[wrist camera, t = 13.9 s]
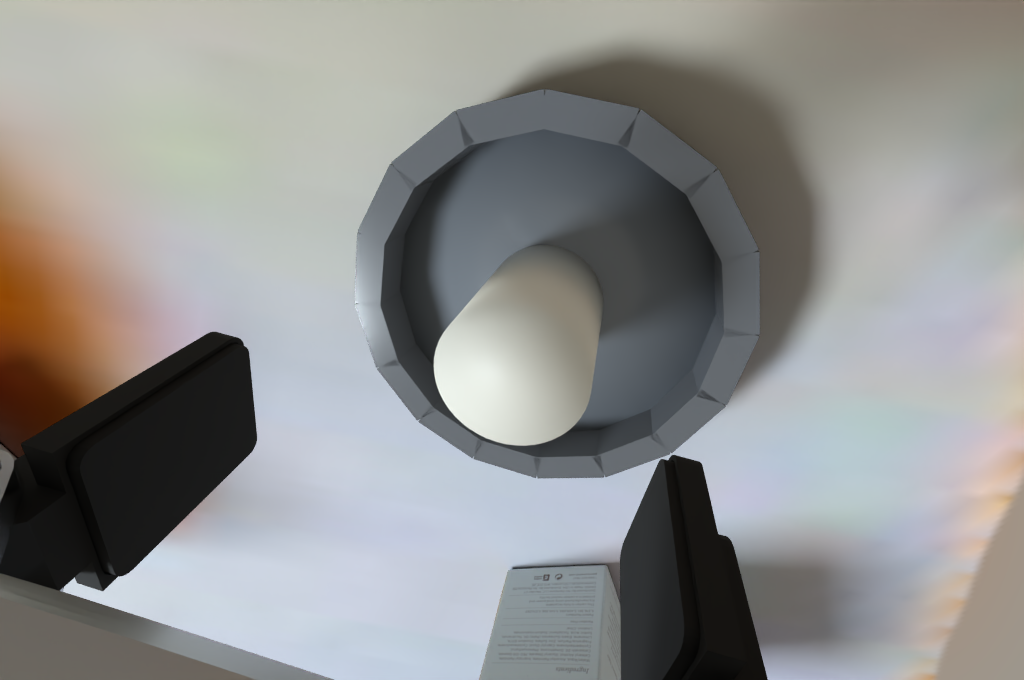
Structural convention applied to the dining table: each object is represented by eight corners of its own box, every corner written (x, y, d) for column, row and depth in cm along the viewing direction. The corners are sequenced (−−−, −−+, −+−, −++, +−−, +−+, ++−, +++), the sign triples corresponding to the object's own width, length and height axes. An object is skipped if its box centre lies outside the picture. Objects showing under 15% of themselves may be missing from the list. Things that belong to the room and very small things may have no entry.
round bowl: (399, 58, 19) (364, 50, 17) (816, 146, 17) (847, 152, 15) (375, 392, 26) (349, 421, 24) (668, 478, 25) (672, 519, 22)
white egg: (500, 232, 20) (443, 284, 14) (617, 261, 20) (611, 328, 14) (481, 336, 23) (425, 420, 16) (586, 365, 22) (569, 463, 16)
